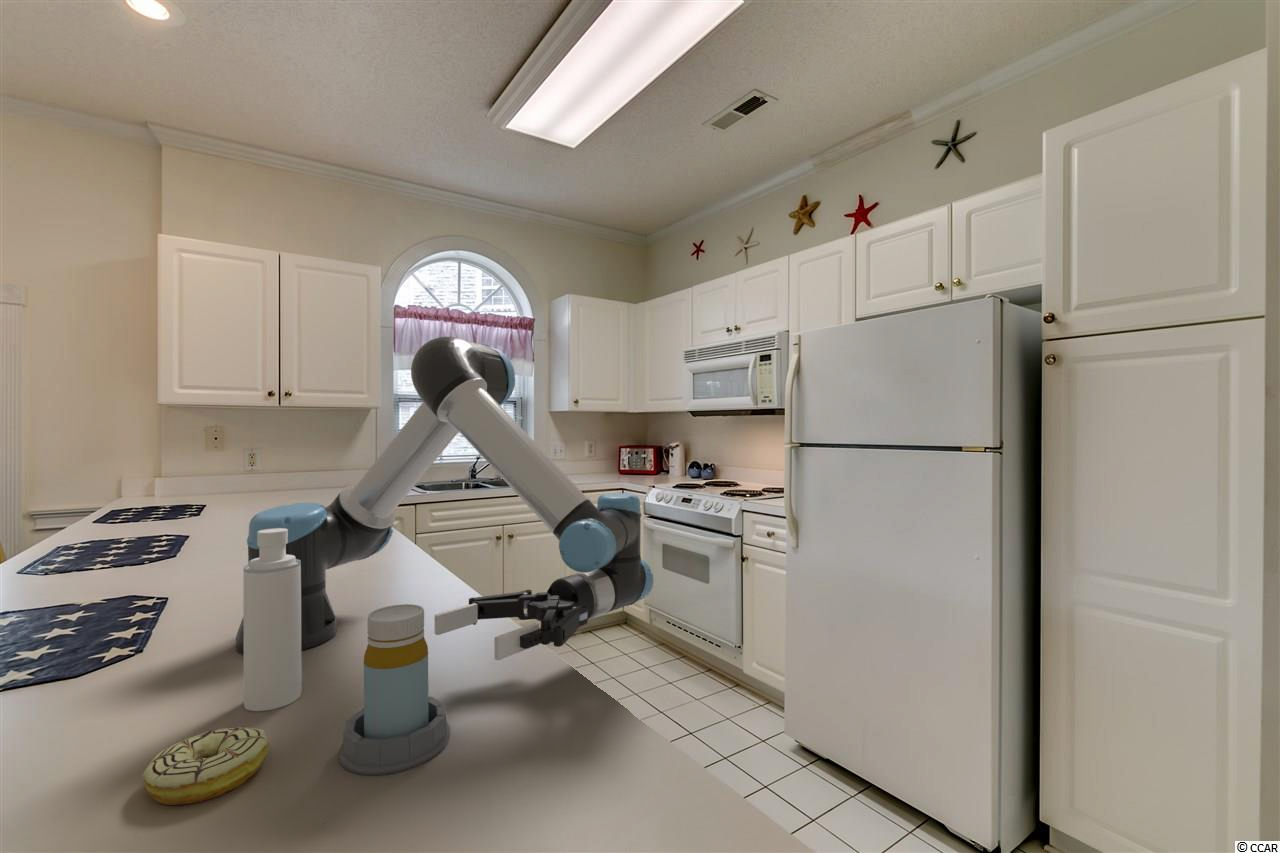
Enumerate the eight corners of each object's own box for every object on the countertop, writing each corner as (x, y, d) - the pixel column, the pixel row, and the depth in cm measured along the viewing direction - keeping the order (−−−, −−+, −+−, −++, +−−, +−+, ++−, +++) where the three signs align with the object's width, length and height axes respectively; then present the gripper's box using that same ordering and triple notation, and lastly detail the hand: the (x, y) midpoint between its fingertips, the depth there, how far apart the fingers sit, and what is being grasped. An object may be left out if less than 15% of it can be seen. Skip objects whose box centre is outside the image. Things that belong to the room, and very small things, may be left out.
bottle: (405, 759, 63) (404, 624, 63) (350, 751, 65) (349, 620, 64) (439, 726, 70) (439, 605, 70) (389, 720, 71) (388, 601, 71)
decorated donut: (222, 745, 68) (222, 713, 68) (290, 761, 64) (290, 728, 64) (118, 799, 58) (118, 762, 58) (191, 822, 54) (191, 782, 54)
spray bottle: (239, 716, 74) (239, 524, 74) (247, 694, 80) (247, 517, 80) (299, 704, 77) (298, 520, 77) (303, 684, 83) (302, 513, 83)
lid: (321, 748, 66) (321, 722, 66) (417, 708, 76) (416, 685, 76) (370, 789, 59) (370, 759, 59) (470, 739, 68) (470, 713, 68)
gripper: (640, 639, 83) (526, 692, 67) (528, 605, 99) (414, 642, 82) (639, 588, 83) (525, 628, 67) (528, 562, 99) (414, 590, 82)
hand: (464, 636), depth 74 cm, fingers open, 13 cm apart
